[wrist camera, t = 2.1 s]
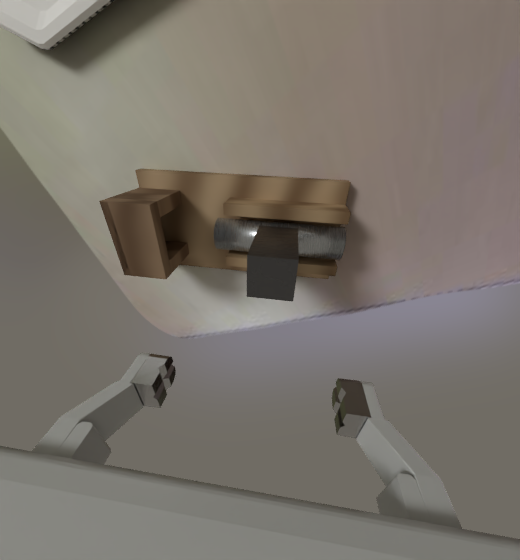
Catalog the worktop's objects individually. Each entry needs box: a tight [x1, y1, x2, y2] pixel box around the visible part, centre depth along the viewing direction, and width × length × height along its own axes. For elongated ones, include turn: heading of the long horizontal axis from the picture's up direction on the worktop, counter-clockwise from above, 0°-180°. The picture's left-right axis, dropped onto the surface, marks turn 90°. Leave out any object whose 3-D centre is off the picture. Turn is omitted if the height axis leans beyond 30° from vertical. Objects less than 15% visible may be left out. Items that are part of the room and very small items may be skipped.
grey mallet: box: [214, 218, 346, 301], centre depth 23 cm, size 14×4×11 cm, turn 88°
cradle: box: [100, 169, 351, 279], centre depth 26 cm, size 24×12×8 cm, turn 88°
